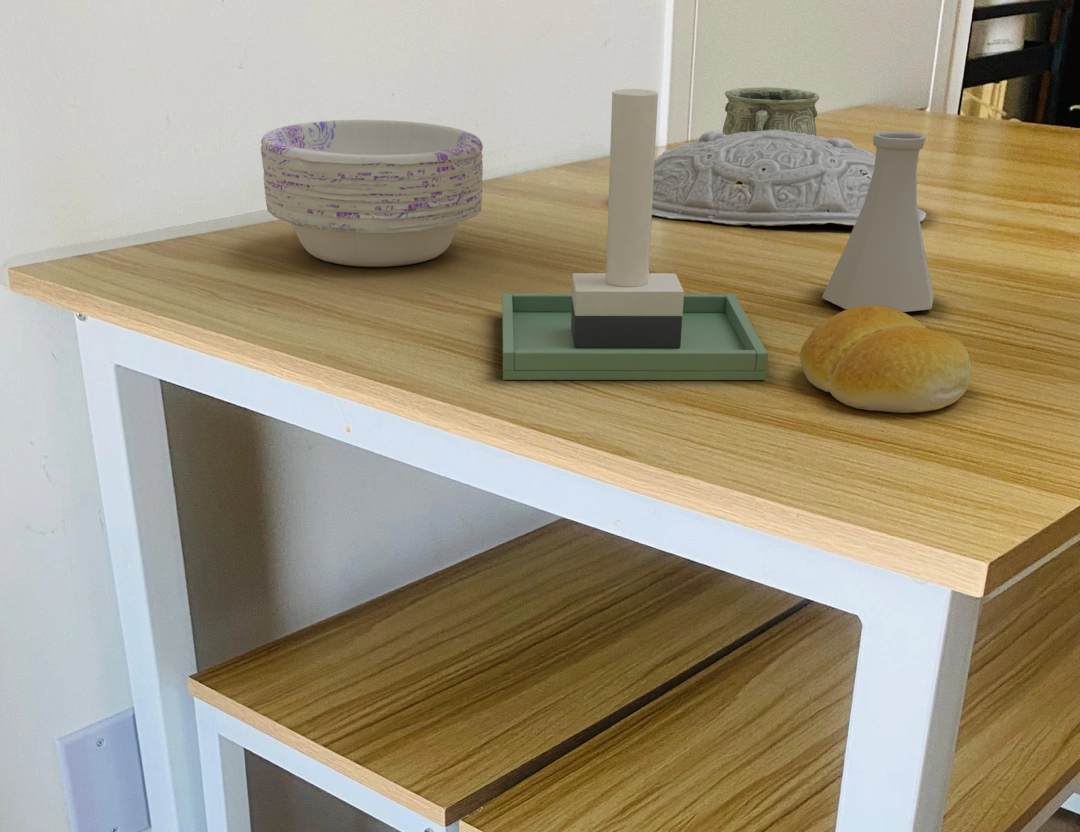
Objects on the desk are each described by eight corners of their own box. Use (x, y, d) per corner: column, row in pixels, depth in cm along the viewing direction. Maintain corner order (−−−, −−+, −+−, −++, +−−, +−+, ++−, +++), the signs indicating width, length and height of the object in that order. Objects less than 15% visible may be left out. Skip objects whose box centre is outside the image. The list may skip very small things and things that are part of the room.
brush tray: (732, 318, 84) (734, 293, 84) (765, 380, 74) (768, 352, 73) (502, 317, 84) (502, 293, 83) (503, 380, 74) (502, 352, 73)
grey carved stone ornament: (920, 230, 103) (930, 133, 100) (598, 224, 110) (599, 133, 107) (930, 212, 116) (939, 126, 113) (643, 208, 123) (645, 127, 120)
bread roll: (870, 426, 68) (882, 346, 66) (775, 374, 75) (783, 300, 73) (1004, 406, 71) (1019, 328, 69) (900, 357, 78) (911, 286, 76)
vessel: (732, 152, 136) (738, 82, 132) (822, 158, 133) (830, 87, 130) (706, 173, 126) (711, 98, 123) (802, 179, 124) (810, 104, 120)
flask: (833, 317, 85) (854, 144, 80) (810, 287, 91) (827, 125, 86) (949, 317, 85) (977, 145, 80) (917, 287, 91) (942, 126, 86)
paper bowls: (502, 274, 93) (501, 149, 89) (276, 284, 90) (264, 155, 86) (464, 226, 106) (462, 115, 102) (265, 233, 103) (254, 119, 99)
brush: (672, 328, 81) (687, 87, 74) (680, 348, 77) (696, 97, 70) (570, 328, 80) (576, 86, 74) (574, 348, 77) (580, 96, 70)
